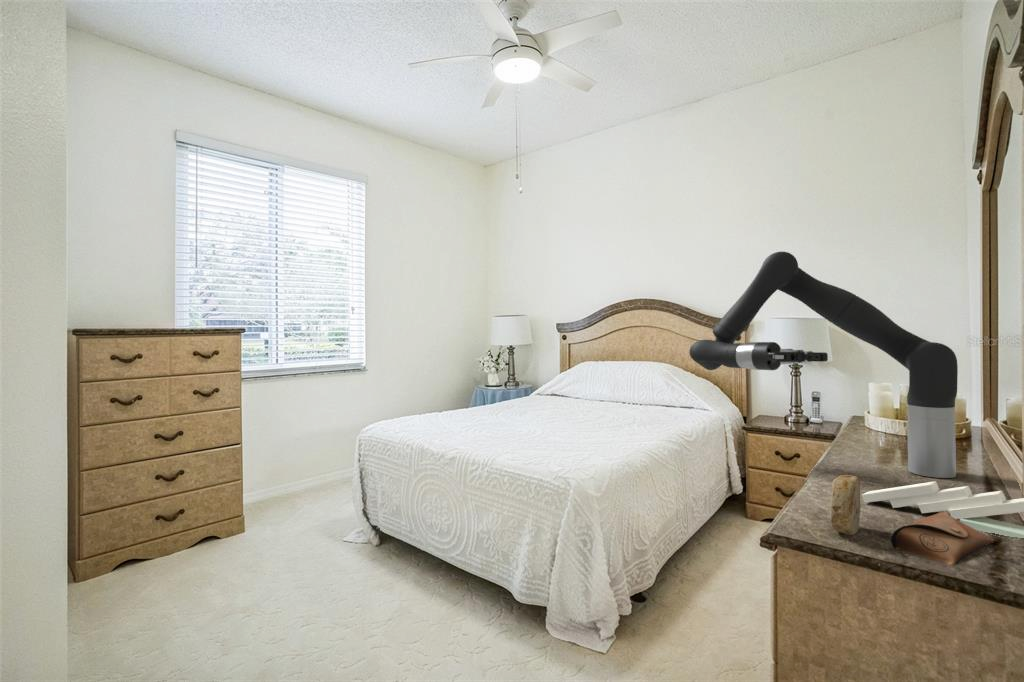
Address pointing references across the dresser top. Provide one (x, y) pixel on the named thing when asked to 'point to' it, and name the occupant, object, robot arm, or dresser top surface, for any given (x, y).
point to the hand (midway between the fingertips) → (826, 357)
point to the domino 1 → (901, 492)
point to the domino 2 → (933, 497)
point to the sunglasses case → (939, 538)
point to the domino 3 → (965, 502)
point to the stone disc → (845, 504)
